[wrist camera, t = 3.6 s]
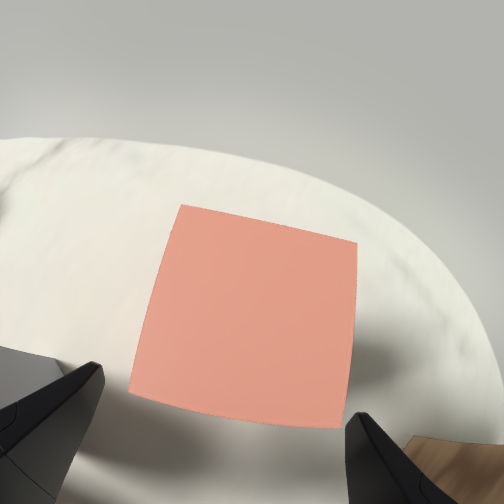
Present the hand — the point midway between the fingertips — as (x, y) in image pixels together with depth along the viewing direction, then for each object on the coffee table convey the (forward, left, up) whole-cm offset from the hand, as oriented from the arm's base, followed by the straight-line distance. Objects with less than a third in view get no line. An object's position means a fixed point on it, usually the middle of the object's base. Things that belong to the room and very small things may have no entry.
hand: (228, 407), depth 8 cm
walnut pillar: (+5, -17, -10) cm, 21 cm away
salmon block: (+2, +2, -10) cm, 10 cm away
